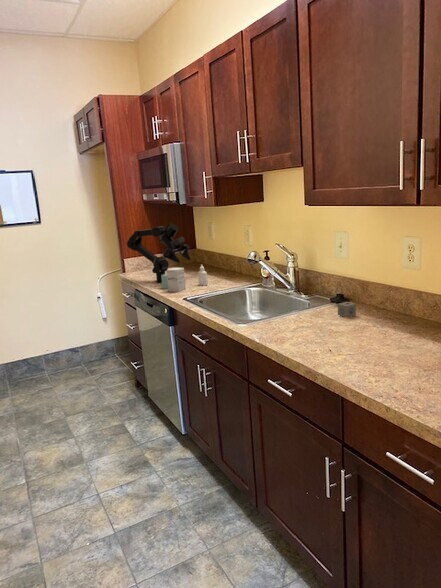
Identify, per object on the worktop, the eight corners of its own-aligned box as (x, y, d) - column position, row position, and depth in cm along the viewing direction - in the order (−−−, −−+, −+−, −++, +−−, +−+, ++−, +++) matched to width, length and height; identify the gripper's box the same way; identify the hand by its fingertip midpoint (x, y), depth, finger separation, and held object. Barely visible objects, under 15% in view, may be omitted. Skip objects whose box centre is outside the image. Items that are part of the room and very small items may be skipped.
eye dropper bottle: (201, 286, 263) (199, 265, 260) (198, 284, 268) (196, 264, 265) (208, 285, 264) (206, 264, 261) (205, 283, 269) (203, 263, 266)
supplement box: (168, 291, 255) (165, 269, 253) (175, 288, 262) (173, 267, 259) (179, 292, 252) (176, 269, 249) (186, 289, 258) (184, 267, 255)
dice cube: (356, 315, 184) (355, 303, 183) (346, 318, 182) (346, 306, 181) (347, 313, 189) (346, 301, 188) (337, 315, 186) (337, 303, 185)
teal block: (162, 288, 265) (161, 275, 263) (168, 286, 269) (167, 273, 267) (168, 289, 262) (167, 275, 260) (174, 287, 266) (173, 274, 264)
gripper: (164, 235, 262) (180, 254, 258) (185, 231, 277) (201, 249, 273) (156, 248, 269) (172, 267, 265) (177, 243, 283) (192, 262, 279)
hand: (184, 261), depth 270 cm, fingers open, 9 cm apart
